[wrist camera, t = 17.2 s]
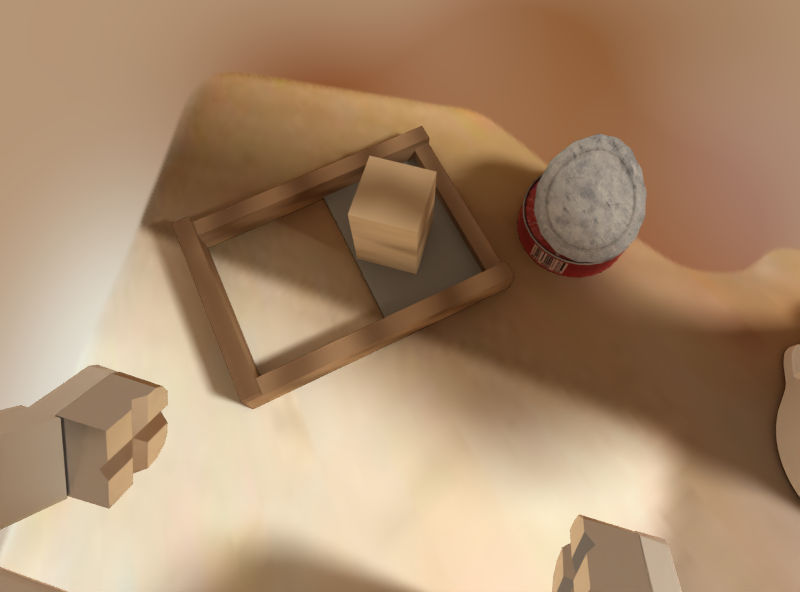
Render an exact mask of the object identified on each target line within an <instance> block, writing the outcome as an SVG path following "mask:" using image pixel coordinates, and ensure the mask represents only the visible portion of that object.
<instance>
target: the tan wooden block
mask: <svg viewBox="0 0 800 592" xmlns="http://www.w3.org/2000/svg"><path fill="white" fill-rule="evenodd" d="M436 174H437V172H436V171H432V170H427V169H423V168H419V167H415V166H411V165H407V164H402V163H398V162H394V161H390V160H386V159H382V158H377V157H373V156H369V159H368V161H367V164H366V167H365V169H364V172H363V175H362V177H361V180H360V183H359V186H358V188H357V191H356V194H355V196H354V199H353V202H352V204H351V207H350V210H349V213H348V218H349V223H350V227H351V232H352V237H353V242H354V246H355V251H356V256H357V259H360V260H364V261H368V262H371V263H375V264H379V265H383V266H387V267H390V268H394V269H398V270H402V271H406V272H409V273H413V274H417V271H418V268H419V265H420V262H421V258H422V255H423V252H424V249H425V245H426V242H427V239H428V236H429V232H430V229H431V226H432V223H433V214H434V201H435V188H436Z"/></svg>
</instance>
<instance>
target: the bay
mask: <svg viewBox="0 0 800 592" xmlns="http://www.w3.org/2000/svg"><path fill="white" fill-rule="evenodd" d="M369 156H373V157H377V158H382V159H386V160H390V161H394V162H398V163H402V164H407V165H411V166H415V167H419V168H423V169H427V170H432V171H436V172H437V174H436V188H435V201H434V214H433V223H432V226H431V229H430V232H429V236H428V239H427V242H426V245H425V249H424V252H423V255H422V258H421V262H420V265H419V268H418V271H417V274H413V273H409V272H406V271H402V270H398V269H394V268H390V267H387V266H383V265H379V264H375V263H371V262H368V261H364V260H360V259H357V256H356V251H355V246H354V242H353V237H352V232H351V227H350V223H349V218H348V213H349V210H350V207H351V204H352V202H353V199H354V196H355V194H356V191H357V188H358V186H359V183H360V180H361V177H362V175H363V172H364V169H365V167H366V164H367V161H368V159H369ZM322 199H325V201H326V203H327V205H328V207H329V209H330V211H331V213H332V215H333V217H334V219H335V221H336V223H337V225H338V227H339V229H340V231H341V233H342V235H343V237H344V239H345V241H346V243H347V245H348V247H349V249H350V251H351V253H352V255H353V257H354V258H355V260H356V262H357V264H358V266H359V268H360V270H361V272H362V274H363V276H364V278H365V280H366V282H367V284H368V286H369V288H370V290H371V292H372V294H373V296H374V298H375V300H376V302H377V304H378V306H379V308H380V310H381V312H382V314H383V316H384V318H383V319H381V320H379V321H377V322H375V323H373V324H370V325H368V326H366V327H364V328H362V329H360V330H358V331H355V332H353V333H351V334H349V335H347V336H345V337H343V338H340V339H338V340H336V341H334V342H332V343H330V344H328V345H326V346H323V347H321V348H319V349H317V350H315V351H313V352H311V353H308V354H306V355H304V356H302V357H300V358H298V359H296V360H293V361H291V362H289V363H287V364H285V365H283V366H281V367H279V368H276V369H274V370H272V371H270V372H268V373H266V374H264V375H261V376H260V375H259V373H258V370H257V368H256V365H255V363H254V360H253V358H252V355H251V353H250V350H249V348H248V345H247V343H246V341H245V338H244V336H243V333H242V331H241V328H240V326H239V323H238V321H237V318H236V316H235V314H234V311H233V309H232V306H231V304H230V301H229V299H228V296H227V294H226V291H225V289H224V286H223V284H222V282H221V279H220V277H219V274H218V272H217V269H216V267H215V264H214V262H213V259H212V257H211V254H210V252H209V250H208V248H209V247H212V246H214V245H216V244H219V243H221V242H223V241H226V240H228V239H230V238H233V237H235V236H237V235H240V234H242V233H244V232H247V231H249V230H252V229H254V228H256V227H259V226H261V225H263V224H266V223H268V222H270V221H273V220H275V219H277V218H280V217H282V216H284V215H287V214H289V213H291V212H294V211H296V210H298V209H301V208H303V207H305V206H308V205H310V204H312V203H315V202H317V201H319V200H322ZM172 225H173V227H174V230H175V232H176V235H177V238H178V240H179V243H180V245H181V248H182V251H183V253H184V256H185V258H186V261H187V263H188V266H189V269H190V271H191V274H192V276H193V279H194V282H195V284H196V287H197V289H198V292H199V294H200V297H201V300H202V302H203V305H204V307H205V310H206V313H207V315H208V318H209V320H210V323H211V325H212V328H213V331H214V333H215V336H216V338H217V341H218V343H219V346H220V349H221V351H222V354H223V356H224V359H225V362H226V364H227V367H228V369H229V372H230V374H231V377H232V380H233V382H234V385H235V387H236V390H237V393H238V395H239V398H240V400H241V402H243V403H244V404H246V405H247V406H249V407H250V408H252V409H255V408H257V407H259V406H261V405H263V404H265V403H267V402H269V401H271V400H274V399H276V398H278V397H280V396H282V395H284V394H286V393H288V392H290V391H292V390H295V389H297V388H299V387H301V386H303V385H305V384H307V383H309V382H311V381H313V380H316V379H318V378H320V377H322V376H324V375H326V374H328V373H330V372H332V371H334V370H337V369H339V368H341V367H343V366H345V365H347V364H349V363H351V362H353V361H355V360H358V359H360V358H362V357H364V356H366V355H368V354H370V353H372V352H374V351H376V350H379V349H381V348H383V347H385V346H387V345H389V344H391V343H393V342H395V341H397V340H400V339H402V338H404V337H406V336H408V335H410V334H412V333H414V332H416V331H418V330H421V329H423V328H425V327H427V326H429V325H431V324H433V323H435V322H437V321H439V320H442V319H444V318H446V317H448V316H450V315H452V314H454V313H456V312H458V311H460V310H463V309H465V308H467V307H469V306H471V305H473V304H475V303H477V302H479V301H481V300H484V299H486V298H488V297H490V296H492V295H494V294H496V293H498V292H500V291H502V290H505V289H507V288H509V287H510V285H511V282H512V280H513V278H514V275H513V273H512V271H511V270H510V268H509V267H508V265H507V263H506V262H503V263H501V261H500V260H499V258H498V256H497V255H496V253H495V252H494V250H493V248H492V247H491V245H490V243H489V242H488V240H487V238H486V237H485V235H484V234H483V232H482V230H481V229H480V227H479V225H478V224H477V222H476V220H475V219H474V217H473V216H472V214H471V212H470V211H469V209H468V207H467V206H466V204H465V202H464V201H463V199H462V198H461V196H460V194H459V193H458V191H457V189H456V188H455V186H454V184H453V183H452V181H451V180H450V178H449V176H448V175H447V173H446V171H445V170H444V168H443V166H442V165H441V163H440V162H439V160H438V158H437V157H436V155H435V153H434V152H433V150H432V148H431V147H430V145H429V136H428V135H427V133H426V132H425V130H424V128H423V127H422V126H420V127H418V128H416V129H413V130H411V131H408V132H406V133H404V134H401V135H399V136H396V137H394V138H392V139H389V140H387V141H385V142H382V143H380V144H377V145H375V146H373V147H370V148H368V149H365V150H363V151H361V152H358V153H356V154H354V155H351V156H349V157H346V158H344V159H342V160H339V161H337V162H334V163H332V164H330V165H327V166H325V167H322V168H320V169H318V170H315V171H313V172H311V173H308V174H306V175H303V176H301V177H299V178H296V179H294V180H291V181H289V182H287V183H284V184H282V185H279V186H277V187H275V188H272V189H270V190H268V191H265V192H263V193H260V194H258V195H256V196H253V197H251V198H248V199H246V200H244V201H241V202H239V203H237V204H234V205H232V206H229V207H227V208H225V209H222V210H220V211H217V212H215V213H213V214H210V215H208V216H205V217H203V218H201V219H198V220H196V221H194V222H193V221H192V220H191V219H190V217H189V216H188V217H186V218H183V219H181V220H178V221H176V222H174V223H172Z"/></svg>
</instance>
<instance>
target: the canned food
mask: <svg viewBox="0 0 800 592" xmlns="http://www.w3.org/2000/svg"><path fill="white" fill-rule="evenodd" d="M646 194H647V192H646V189H645V185H644V181H643V174H642V169H641V167H640V166H639V164H638V162H637V161H636V159H635V156H634V154H633V151H632V150H631V149H630V148H629V147H628V146H626V145H625V144H624V143H623V142H622V141H621V140H620V139H619V138H616V137H611V136H606V135H602V134H596V135H593V136H591V137H587V138H584V139H581V140H578V141H575V142H573V143H572V144H571V145H569V146H568V147H567V148H565V149H564V150H563V151H562V152H560V153H559V154H558V155H557V156H556V157H554V158H553V159H552V160H551V161H550V163H549V165H548V166H547V168H546V170H545V171H544V173H543V174H541V175H540V176H539V177H538V178H537V179H535V180H534V181H533V183H532V184H531V185H530V187H529V188H528V190H527V192H526V195H525V197H524V201H523V204H522V206H521V209H520V212H519V216H518V221H517V223H518V234H519V238H520V241H521V243H522V245H523V247H524V249H525V251H526V252H527V253H528V254H529V256H530V257H531V258H532V259H533V260H534V261H535V262H536V263H537V264H538V265H540V266H542V267H543V268H545V269H546V270H548V271H551V272H553V273H555V274H558V275H562V276H567V277H587V276H592V275H595V274H598V273H601V272H602V271H604V270H606V269H607V268H609V267H610V266H611V265H612V264H613V263H614V262H616V261H617V259H618V258H619V257H620V256H621V254H622V253H623V252H624V251H625V250H626V249H627V248H628V246H629V245H630V244H631V243H632V242H633V241H634V240H635V239H636V237H637V234H638V231H639V229H640V227H641V224H642V222H643V220H644V218H645V203H646Z"/></svg>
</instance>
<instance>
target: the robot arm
mask: <svg viewBox="0 0 800 592" xmlns="http://www.w3.org/2000/svg"><path fill="white" fill-rule="evenodd" d="M784 372H785V380H786V387H785V392H784V395H783V398H782V401H781V404H780V406H779V410H778V414H777V422H776V439H777V446H778V451H779V455H780V459H781V462H782V465H783V468H784V470H785V472H786V475H787V477H788V479H789V481H790V483H791V484H792V486H793V488H794V489H795V491H796V492H797V494H798V495H799V497H800V344H797V345H794V346H791V347H789V348H788V349H787V350H786V351H785V354H784ZM167 405H168V392H167V390H166V389H165V388H164V387H163V386H160V385H157V384H154V383H151V382H148V381H145V380H142V379H139V378H137V377H134V376H131V375H128V374H125V373H122V372H117V371H114V370H111V369H108V368H105V367H102V366H99V365H92V366H88V367H86V368H85V369H84V370H82V371H81V372H79V373H78V374H76V375H75V376H73V377H72V378H70V379H69V380H68V381H66V382H65V383H63V384H62V385H60V386H59V387H57V388H56V389H55V390H53V391H52V392H50V393H49V394H47V395H46V396H44V397H43V398H42V399H40V400H39V401H37V402H36V403H34V404H33V405H31V406H30V407H25V406H21V405H20V406H16V407H12V408H8V409H4V410H0V529H3V528H5V527H7V526H9V525H11V524H13V523H15V522H18V521H20V520H22V519H24V518H26V517H28V516H30V515H33V514H35V513H37V512H39V511H41V510H43V509H45V508H47V507H50V506H52V505H54V504H56V503H58V502H60V501H62V500H65V499H67V496H70V497H73V498H76V499H80V500H83V501H86V502H89V503H93V504H96V505H99V506H102V507H106V508H110V507H111V506H112V505H113V504H114V503H115V502H116V501H117V500H118V499H119V498H120V497H121V496H122V495H123V494H124V493H125V492H126V491H127V490H128V488H129V487H130V486H131V485H132V484H133V473H136V472H139V471H141V470H144V469H147V468H148V467H149V466H150V465H151V464H152V463H153V462H154V461H155V459H156V458H157V457H158V455H159V453H160V451H161V449H162V447H163V446H164V443H165V439H166V435H167V424H168V423H167V421H166V419H165V418H164V416H163V414H162V413H161V411H162V410H163V409H164V408H165V407H166V406H167ZM570 538H571V543H570V544H568V545H566V546H564V547H562V549H561V552H560V554H559V557H558V559H557V563H556V567H555V571H554V576H553V587H552V592H682V591H681V587H680V584H679V580H678V577H677V573H676V569H675V566H674V562H673V559H672V555H671V552H670V548H669V544H668V543H667V542H666V541H665V539H662V538H658V537H655V536H651V535H648V534H644V533H641V532H637V531H635V532H634V531H632V530H629V529H625V528H622V527H619V526H615V525H612V524H609V523H605V522H602V521H599V520H595V519H592V518H589V517H586V516H582V515H578V516H577V518H576V519H575V520H574V522H573V524H572V527H571V529H570ZM0 592H68V591H65V590H62V589H59V588H57V587H54V586H51V585H48V584H46V583H43V582H40V581H37V580H35V579H32V578H29V577H26V576H24V575H21V574H18V573H15V572H13V571H10V570H7V569H4V568H2V567H0Z"/></svg>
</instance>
